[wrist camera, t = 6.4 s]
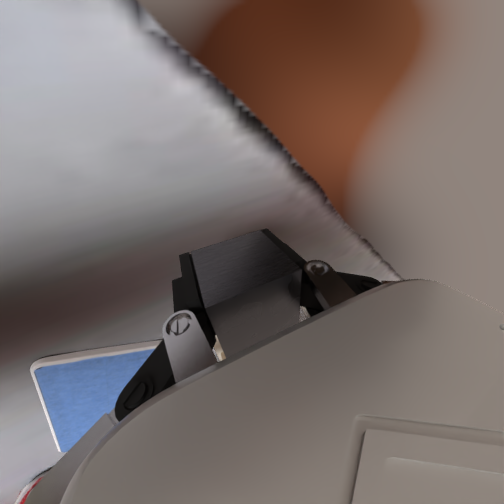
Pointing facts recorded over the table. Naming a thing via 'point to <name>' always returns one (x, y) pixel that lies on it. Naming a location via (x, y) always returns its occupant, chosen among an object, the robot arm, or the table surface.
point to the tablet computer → (85, 386)
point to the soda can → (29, 489)
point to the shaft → (248, 290)
